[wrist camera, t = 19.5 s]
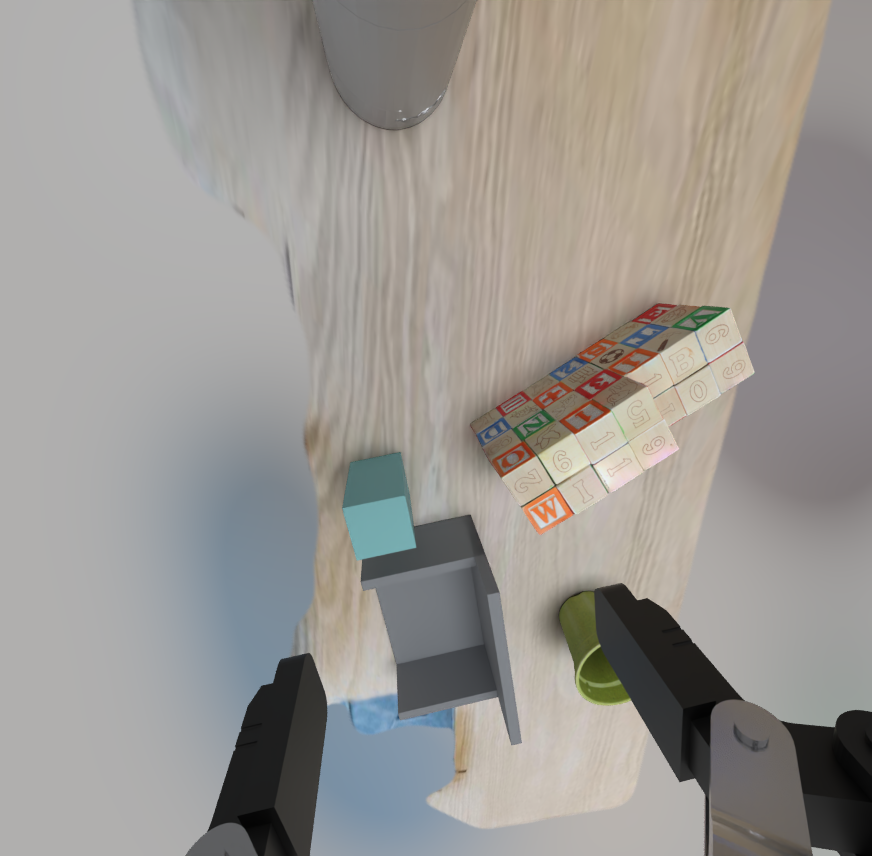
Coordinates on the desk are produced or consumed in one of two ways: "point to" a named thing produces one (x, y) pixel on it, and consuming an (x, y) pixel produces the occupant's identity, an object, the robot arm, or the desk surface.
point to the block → (378, 507)
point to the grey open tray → (444, 622)
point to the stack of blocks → (611, 409)
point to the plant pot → (589, 653)
